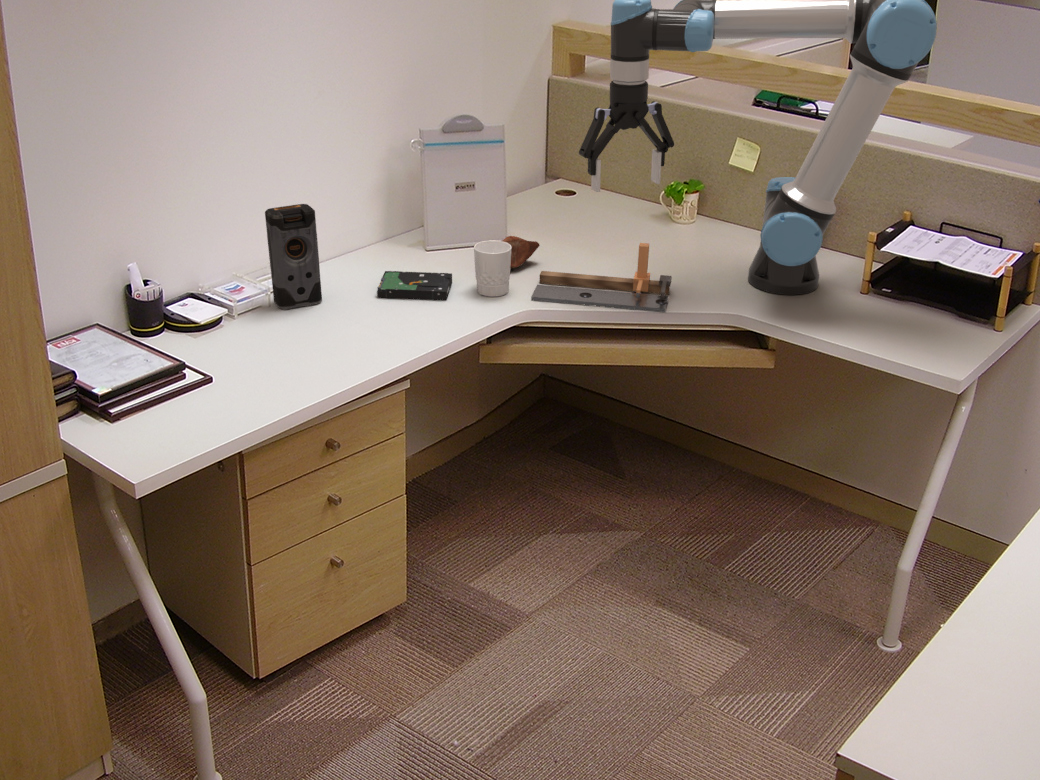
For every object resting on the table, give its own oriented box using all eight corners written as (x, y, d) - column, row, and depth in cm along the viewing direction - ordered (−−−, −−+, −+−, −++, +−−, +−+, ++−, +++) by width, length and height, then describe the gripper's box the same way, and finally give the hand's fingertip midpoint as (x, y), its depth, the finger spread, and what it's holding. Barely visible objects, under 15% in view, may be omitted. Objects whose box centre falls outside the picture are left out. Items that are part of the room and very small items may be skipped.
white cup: (506, 299, 226) (507, 254, 221) (470, 296, 227) (469, 251, 223) (514, 285, 233) (514, 241, 228) (479, 282, 234) (478, 238, 230)
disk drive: (452, 284, 235) (384, 281, 235) (452, 272, 233) (384, 269, 234) (447, 303, 226) (376, 300, 226) (447, 291, 224) (376, 288, 225)
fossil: (542, 244, 246) (527, 216, 238) (546, 271, 241) (532, 244, 233) (490, 261, 248) (474, 234, 241) (494, 289, 244) (477, 262, 236)
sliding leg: (649, 284, 233) (652, 242, 228) (645, 302, 224) (648, 258, 220) (634, 283, 233) (637, 240, 229) (629, 301, 225) (632, 257, 220)
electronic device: (280, 311, 219) (270, 217, 210) (272, 301, 224) (262, 208, 214) (324, 303, 223) (317, 210, 214) (315, 293, 228) (307, 202, 218)
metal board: (669, 299, 227) (669, 295, 227) (666, 312, 221) (666, 308, 221) (537, 288, 232) (537, 284, 231) (531, 300, 226) (531, 296, 225)
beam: (670, 289, 232) (671, 275, 230) (667, 307, 224) (668, 292, 222) (541, 278, 237) (542, 264, 235) (533, 295, 228) (534, 281, 227)
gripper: (676, 71, 218) (671, 174, 228) (563, 82, 210) (562, 188, 220) (694, 78, 212) (688, 183, 222) (578, 90, 204) (577, 198, 214)
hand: (625, 186), depth 221 cm, fingers open, 13 cm apart
